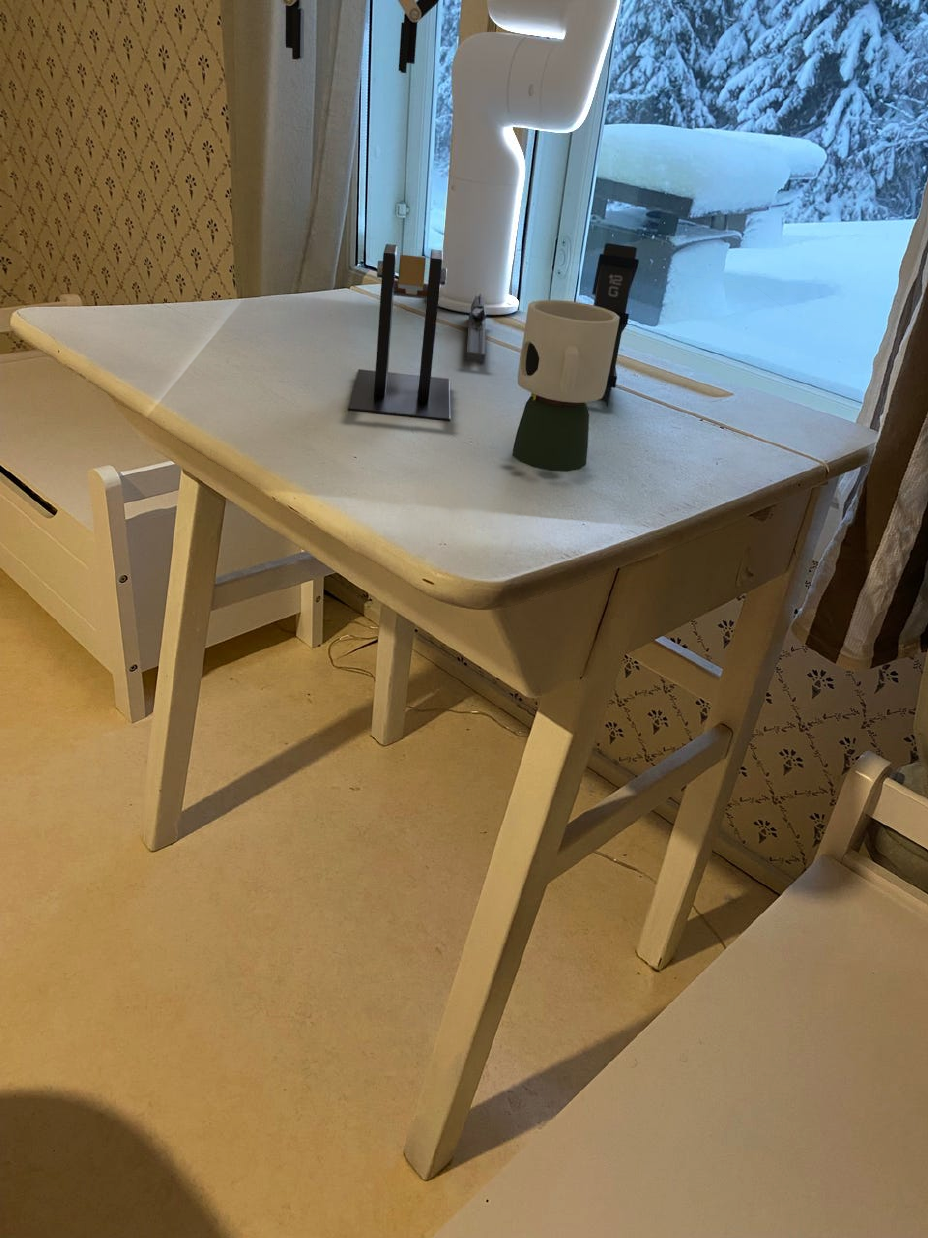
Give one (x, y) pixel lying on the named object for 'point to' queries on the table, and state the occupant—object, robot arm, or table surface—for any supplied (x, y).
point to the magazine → (615, 293)
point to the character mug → (562, 380)
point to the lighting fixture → (476, 332)
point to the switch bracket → (381, 386)
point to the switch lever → (411, 278)
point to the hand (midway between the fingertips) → (350, 65)
